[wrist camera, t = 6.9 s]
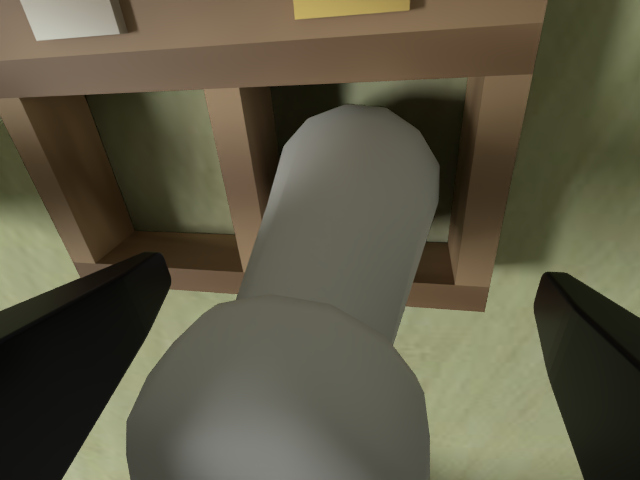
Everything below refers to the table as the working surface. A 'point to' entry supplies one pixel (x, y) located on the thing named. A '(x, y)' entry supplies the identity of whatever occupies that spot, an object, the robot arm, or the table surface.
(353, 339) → the salt shaker
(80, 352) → the robot arm
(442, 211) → the table surface
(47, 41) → the socket block
